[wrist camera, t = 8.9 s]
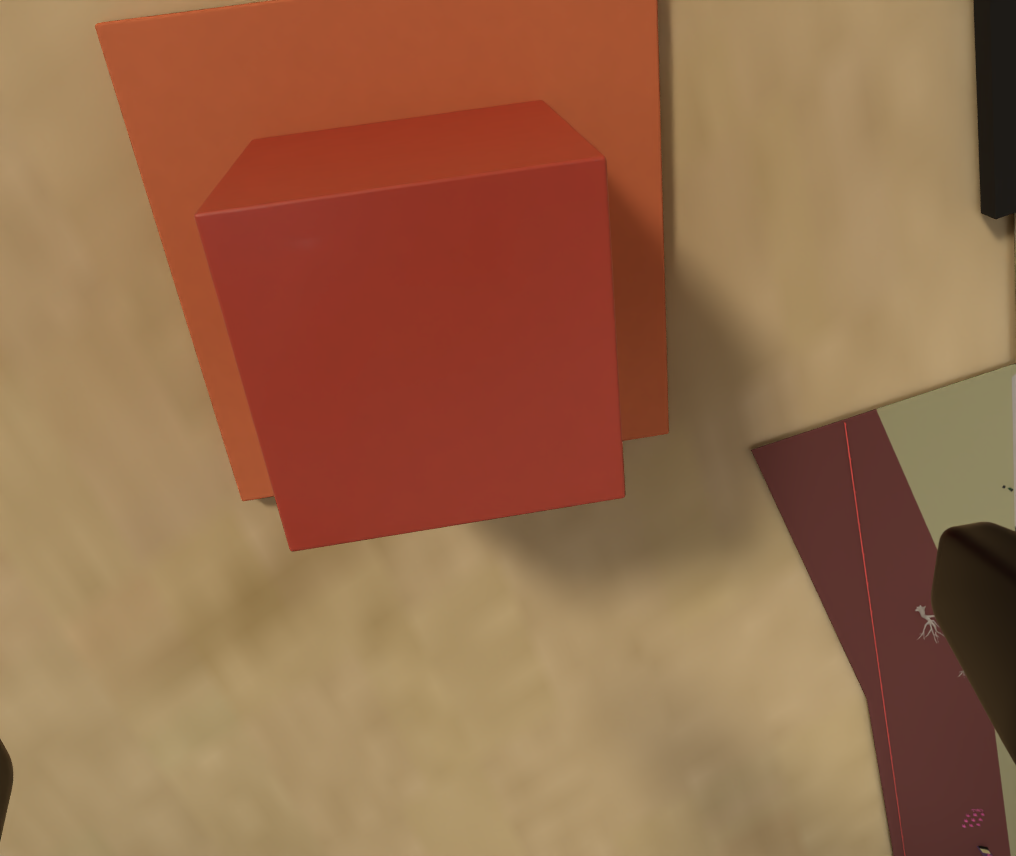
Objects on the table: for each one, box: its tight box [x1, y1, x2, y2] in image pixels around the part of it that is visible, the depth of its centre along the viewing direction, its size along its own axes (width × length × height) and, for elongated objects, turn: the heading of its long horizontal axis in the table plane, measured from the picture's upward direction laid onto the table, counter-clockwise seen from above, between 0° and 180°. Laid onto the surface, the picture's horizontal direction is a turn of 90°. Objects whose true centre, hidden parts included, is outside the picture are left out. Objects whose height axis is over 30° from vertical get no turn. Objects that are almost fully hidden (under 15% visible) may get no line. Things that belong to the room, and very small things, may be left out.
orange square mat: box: [95, 0, 669, 501], centre depth 16 cm, size 9×9×1 cm
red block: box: [194, 100, 625, 551], centre depth 14 cm, size 5×5×5 cm
